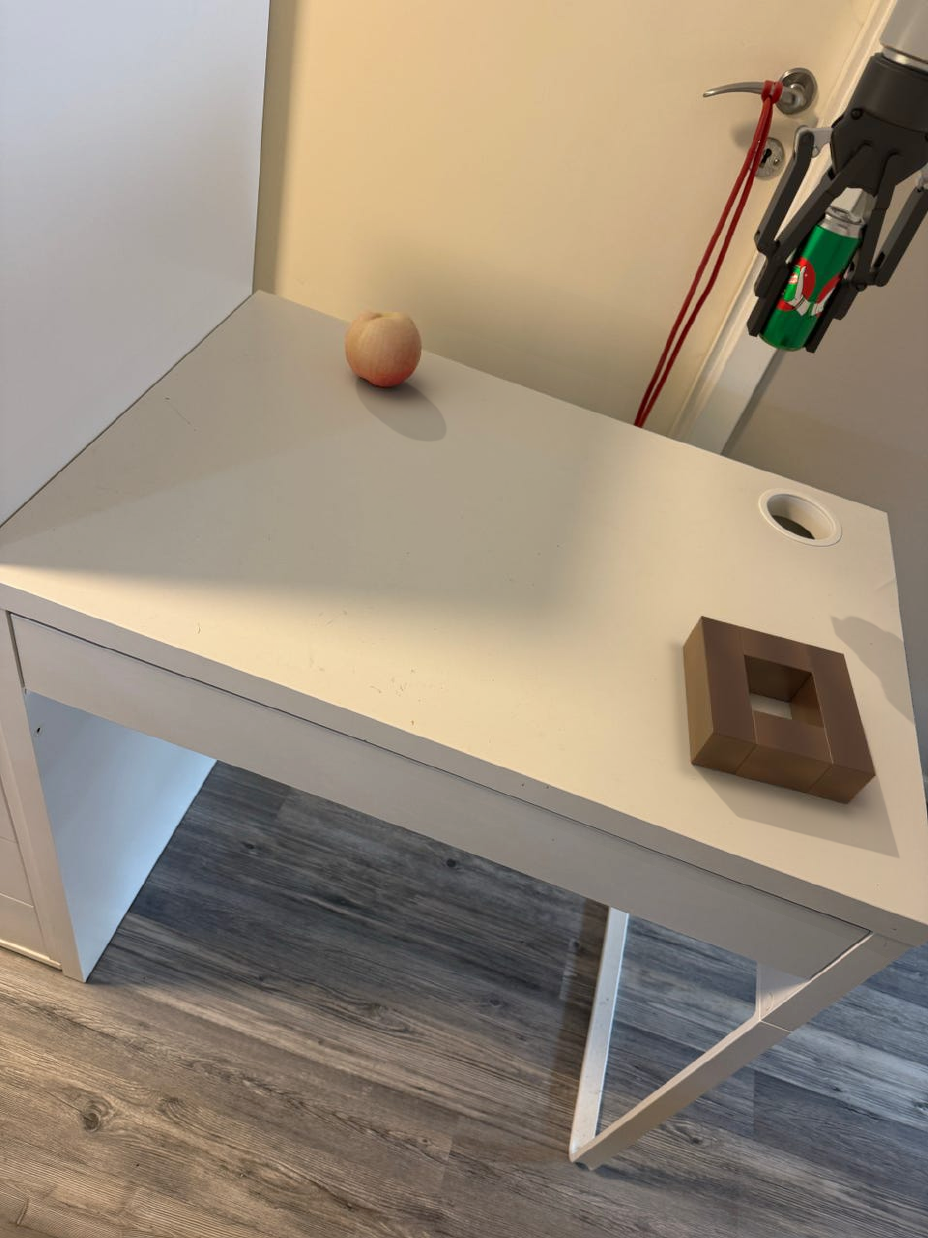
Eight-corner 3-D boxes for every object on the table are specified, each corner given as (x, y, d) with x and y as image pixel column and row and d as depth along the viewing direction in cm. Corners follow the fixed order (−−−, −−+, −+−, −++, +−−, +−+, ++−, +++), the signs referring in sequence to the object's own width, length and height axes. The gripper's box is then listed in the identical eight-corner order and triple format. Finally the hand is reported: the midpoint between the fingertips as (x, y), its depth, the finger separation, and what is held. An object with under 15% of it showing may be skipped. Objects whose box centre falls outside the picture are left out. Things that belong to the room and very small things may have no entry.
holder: (820, 683, 76) (843, 653, 73) (848, 804, 66) (876, 775, 64) (682, 646, 75) (701, 615, 72) (690, 763, 66) (712, 732, 63)
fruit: (386, 356, 99) (397, 291, 94) (426, 392, 96) (440, 326, 90) (328, 366, 95) (336, 298, 89) (368, 404, 91) (379, 336, 86)
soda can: (796, 335, 84) (861, 211, 76) (809, 359, 81) (878, 231, 72) (749, 323, 84) (809, 197, 75) (759, 346, 80) (824, 217, 72)
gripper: (1012, 86, 69) (859, 346, 85) (803, 22, 68) (688, 297, 84) (1046, 107, 64) (876, 381, 80) (819, 37, 63) (693, 329, 79)
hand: (780, 337), depth 82 cm, fingers closed on soda can, 5 cm apart
